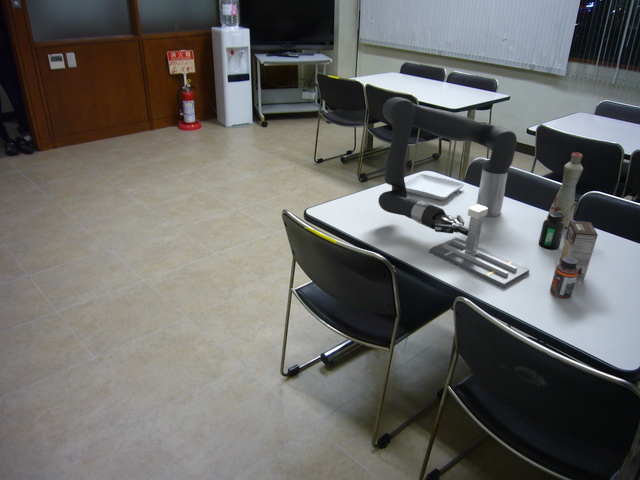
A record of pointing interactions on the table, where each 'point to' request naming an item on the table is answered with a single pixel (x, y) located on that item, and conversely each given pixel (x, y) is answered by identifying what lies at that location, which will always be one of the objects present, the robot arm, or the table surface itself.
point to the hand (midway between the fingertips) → (469, 232)
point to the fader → (474, 228)
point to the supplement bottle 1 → (552, 231)
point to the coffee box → (579, 245)
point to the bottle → (568, 189)
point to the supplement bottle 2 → (564, 278)
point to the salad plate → (432, 186)
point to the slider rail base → (480, 263)
